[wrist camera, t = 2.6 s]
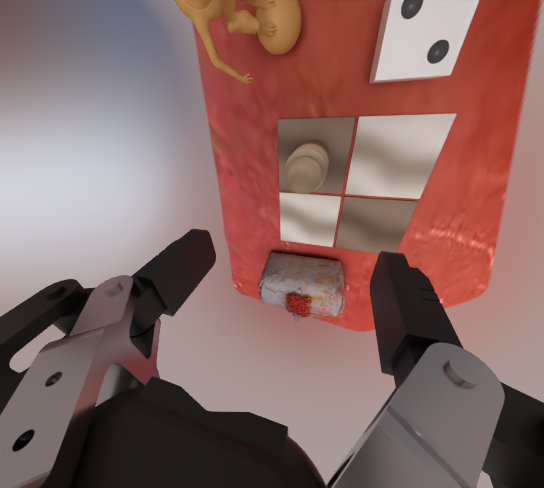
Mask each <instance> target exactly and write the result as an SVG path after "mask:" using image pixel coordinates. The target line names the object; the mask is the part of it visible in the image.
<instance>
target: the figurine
mask: <svg viewBox="0 0 544 488" xmlns="http://www.w3.org/2000/svg"><path fill="white" fill-rule="evenodd" d="M175 1H176V3H177V5H178V6H179V8H180V9H181V11H182V12H183V13H184V14H185V15H186V16H187V17H189V18H190V19H191V20H192V21H193V22H194V25H195V27H196V29H197V31H198V33H199V34H200V36H201V38H202V40H203V42H204V45H205V47H206V50H207V52H208V54H209V56H210V59H211V61H212V63H213V64H214V66H215V67H217V68H218V69H220V70H223V71H225V72H226V73H228V74H229V75H231V76H232V77H234V78H236V79H238V80H239V81H241V82H242V83H245V84H250V83H251V82H252V81H249V80H251V79H253V78H250V77H247V76H249V75H250V74H246V75H245V76H241V75H240V74H239V73H238V72H237V71H236V70H235V69H234V68H232V67H230V66H228V65H227V64H226V63H225V62H223V61H221V60H220V59H219V58H218V55H217V51H216V48H215V45H214V42H213V39H212V36H211V33H210V29H209V23H210V22H211V21H215V20H217V19H219V18H224V17H225V18H226V22H227V30H228V31H229V32H230V33H232V34H234V33H243V34H253V35H255V34H256V33H257V34H258V37H259V40H260V42H261V44H262V45H263V47H264V48H265V49H266V50H267V51H268V52H270V53H272V54H275V55H281V54H284V53H286V52H288V51H289V50H290V49H291V48H292V47H293V46H294V45H295V43H296V41H297V39H298V37H299V34H300V30H301V23H302V15H301V8H300V4H299V1H298V0H246V1H247V3H249V5H251V6H253V7H257V12H256V18H255V17H253V16H252V15H251V14H250V13H249V12H248V11H247V10H239V11H236V1H235V0H175ZM240 1H244V0H240ZM248 82H249V83H248Z"/></svg>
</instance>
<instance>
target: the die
mask: <svg viewBox="0 0 544 488" xmlns="http://www.w3.org/2000/svg"><path fill="white" fill-rule="evenodd" d="M478 2H479V0H386V2H385V4H384V7H383V13H382V18H381V23H380V28H379V33H378V38H377V43H376V48H375V54H374V59H373V64H372V69H371V74H370V79H369V83H383V82H396V81H410V80H424V79H432V78H437V77H443V76H448V75H451V72H452V70H453V67H454V65H455V62H456V59H457V57H458V54H459V52H460V49H461V46H462V44H463V41H464V39H465V36H466V33H467V31H468V28H469V26H470V23H471V20H472V18H473V15H474V13H475V10H476V7H477V5H478Z"/></svg>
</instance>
